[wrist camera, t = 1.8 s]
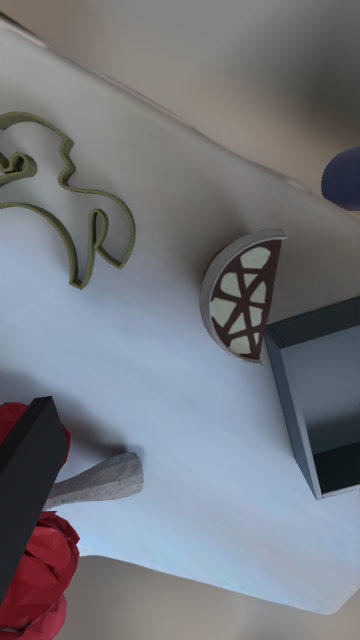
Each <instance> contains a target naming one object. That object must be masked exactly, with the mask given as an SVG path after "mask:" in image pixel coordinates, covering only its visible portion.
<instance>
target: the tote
mask: <svg viewBox="0 0 360 640" xmlns="http://www.w3.org/2000/svg"><path fill="white" fill-rule="evenodd" d="M264 339H265V342H266V346H267V350H268V354H269V358H270V362H271V366H272V370H273V374H274V378H275V381H276V385H277V389H278V393H279V397H280V401H281V405H282V409H283V413H284V417H285V421H286V424H287V428H288V432H289V436H290V440H291V444H292V448H293V452H294V456H295V460H296V462H297V464H298V466H299V468H300V470H301V472H302V474H303V475H304V477H305V479H306V481H307V483H308V485H309V487H310V489H311V491H312V493H313V495H314V497H315V499H316V500H320V499H323V498H327V497H331V496H335V495H338V494H342V493H346V492H350V491H353V490H357V489H360V296H359V297H356V298H353V299H349V300H346V301H343V302H340V303H337V304H333V305H330V306H327V307H324V308H321V309H317V310H314V311H311V312H308V313H305V314H302V315H298V316H295V317H292V318H289V319H286V320H282V321H279V322H276V323H273V324H270V325H266V326H265V331H264Z"/></svg>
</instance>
